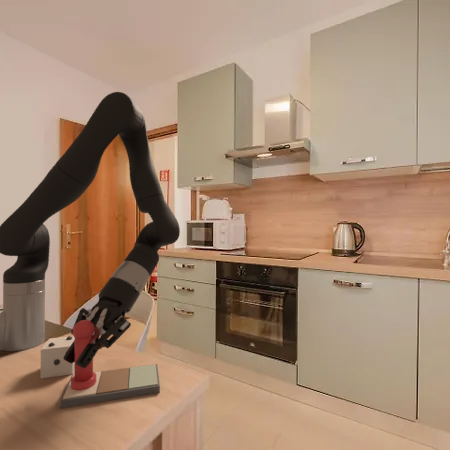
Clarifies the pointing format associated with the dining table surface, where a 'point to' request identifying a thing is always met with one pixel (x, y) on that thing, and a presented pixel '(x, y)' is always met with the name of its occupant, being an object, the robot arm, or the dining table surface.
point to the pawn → (83, 336)
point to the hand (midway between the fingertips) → (74, 363)
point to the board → (114, 386)
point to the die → (56, 357)
